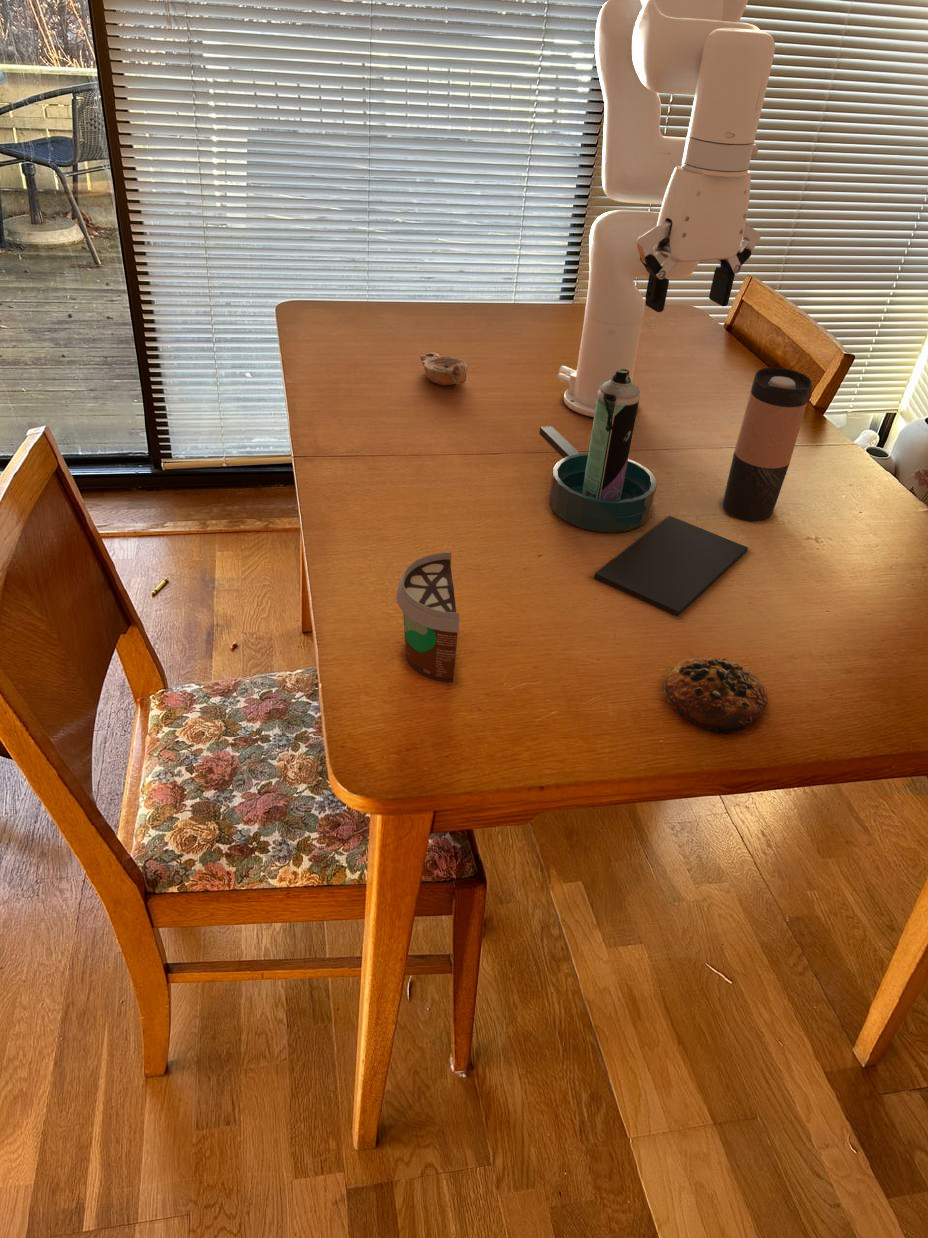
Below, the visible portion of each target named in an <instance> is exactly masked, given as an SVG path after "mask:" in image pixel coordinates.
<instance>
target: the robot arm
mask: <svg viewBox="0 0 928 1238" xmlns="http://www.w3.org/2000/svg"><path fill="white" fill-rule="evenodd" d="M748 2H749V0H606V2H605V3H603V5H602V7H601V9H600V11H599V14H598V16H597V21H596V25H595V26H596V28H595V36H594V37H595V39H594V49H595V50H594V54H595V61H596V62H595V63H596V69H597V75H598V78H599V83H600V87H601V92H602V98H603V102H604V117H603V135H602V136H603V139H602V156H601V157H602V158H601V182H602V183H601V184H602V189H603V193H604V194H605V196H606V197H607V198H608V199H610V200H612V201H615V202H619V203H620V202H621V203H628V204H629V203H630V204H643V205H644V204H647V205H661V207H660V211H651V210H635V209H634V210H633V209H616V210H615V209H614V210H610V211H607V212H603V213H602V214H600V215H599V216H598V217H597V218H596V219H595V220H594V221H593V223H592V225H591V228H590V232H589V242H588V252H589V253H588V254H589V255H588V260H589V262H588V263H589V265H588V273H589V274H588V282H587V283H588V286H587V294H586V302H585V308H584V309H585V310H584V317H583V324H582V331H581V337H580V345H579V352H578V359H577V364H576V365H577V367H576V370H575V369H573V368H570V367H568V366H565V365H560V367H559V369H558V374H557V377H556V380H557V382H560V383H563V384H566V385H567V386H568V389H566V390H565V392H564V395H563V402H564V404H565V405H566V406H567V407H568V408H569V409H570V410H572V411H573V412H575V413H578V414H580V415H583V416H586V417H591V418H594V415H595V409H596V402H597V396H598V391H599V389H600V385H601V384H602V383H603V382H606V381H609V380H611V378H612V377H613V376H614V375H615V374H616V371H618V370H621V369H626V370H628V371H629V378H630V379H631V380H632V381H633V378H634V377H633V376H634V371H635V367H636V366H635V365H636V359H637V353H638V349H639V342H640V338H641V334H642V333H641V331H642V327H643V322H644V316H645V306H646V307H648V308H650V309H651V310H653V311H654V312H656V313H663V311H665V306H666V299H667V296H668V290H669V284H670V280H669V279H681V278H682V279H683V278H687V277H690V275H692V274H693V273H694V272H695V271H696V269H697V267H698V265H699V263H700V262H709V261H718V263H719V266H716V267H715V270H714V272H713V277H712V281H711V287H710V291H709V296H708V299H709V300H710V301H712V302H713V303H715V304H717V305H719V306H721V307H727V306H729V302H730V298H731V294H732V289H733V286H734V285H733V284H734V280H735V275H737V274H739V273H740V272H741V271H742V266H743V265H744V264H745V263H746V262H747V261H748V260H749V259H750V257H751V256H752V251H754V249H755V247H756V246H757V244H758V243H759V241H760V239H761V236H762V235H761V233H760V232H758V230H756V229H755V228H753V227H752V226H750V225H749V224H748V223H747V218H748V212H749V206H750V205H749V204H750V197H751V196H750V195H751V183H752V182H751V181H752V172H751V170H749V168H750V164H751V159H752V158H756V157H757V155H758V153H759V147H758V145H757V144H755V140H756V135H757V132H758V129H759V128H758V127H759V122H760V118H761V115H762V110H763V106H764V100H765V97H766V92H767V88H768V84H769V79H770V75H771V70H772V66H773V61H774V56H775V51H776V43H775V39H774V37H773V36H772V35H771V34H770V33H768V32H765V31H762V30H761V29H760V28H759V27H758V26H757V25H755V24H752V23H747V22H741V21H740V20H741V18H742V17H743V15H744V12H745V10H746V8H747V5H748ZM739 21H740V22H739ZM659 94H666V95H685V96H686V95H687V96H694V99H693V104H692V108H691V115H690V120H689V125H688V130H687V135H686V137H682V136H681V137H680V136H665V135H663V134H662V132H661V112H662V103H661V97H660V95H659ZM637 278H648V281H647V286H646V290H645V296H644V297H645V301H644V298H643V295H642V293H641V291H640V290H639V289H638V288H639V287H637V285H636V283H634V280H635V279H637Z"/></svg>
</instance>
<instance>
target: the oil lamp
mask: <svg viewBox="0 0 928 1238" xmlns="http://www.w3.org/2000/svg"><path fill="white" fill-rule="evenodd" d="M419 359H420V361H421V363H422V366H423V370H424V372H425V375H426V377H427V378H428V379H429V380H430V381H431V382H432V383H434V384H437V385H440V386H451V385H455V384H456V385H459V384H464V383H466V382H467V371H468V365H467V364H466V363H465V362H464V361H463V360H461V359H459V358H455V357H452V356H451V355H447V356H441V355H439V352H426V353H423V354H422V355H420V356H419Z"/></svg>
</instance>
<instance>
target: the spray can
mask: <svg viewBox="0 0 928 1238" xmlns="http://www.w3.org/2000/svg"><path fill="white" fill-rule="evenodd" d="M640 394H641V389H640V388H639V387H638V386H637V385H636V384H634V383H633V379H632V380H631V379H630V378H629V371H628V370H626V369H621V370H618V371H616V374H615V375H614V376H613V377H612V378H611V380H609V381H606V382H603V383H602V384H601V385H600V389H599V391H598V396H597V402H596V409H595V415H594V417H593V423H592V427H591V434H590V441H589V447H588V452H587V453H588V459H587V465H586V472H585V478H584V484H583V491H582V494H583V495H586V496H589V497H594V498H598V499H605V500H621V494H622V489H623V484H624V478H625V473H626V468H627V462H628V459H629V456H630V452H631V446H632V440H633V435H634V430H635V424H636V418H637V413H638V409H639V403H640V396H641V395H640Z"/></svg>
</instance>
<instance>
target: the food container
mask: <svg viewBox="0 0 928 1238" xmlns="http://www.w3.org/2000/svg"><path fill="white" fill-rule="evenodd" d="M454 588H455V587H454V581H453V574H452V552H438V553H437V552H436V553H432V554H428V555H426V556H423V557H419V558H418V559H416V560H415V561H413V562H412V563H411V564H410V565H408V566H407V567H406V569H405V570H404V572H403V574H402V575H401V577H400V579H399V583H398V586H397V590H396V597H395V598H396V603H397V605H398V608H399V609H400V610H401V611H402V612H403V613H402V615H403V629H404V630H403V632H404V633H403V634H404V649H405V651H404V652H405V660H406V662H407V664H408V665H409V667H410V668H411V669H412V670H413V671H415V672H416V673H417V674H419V675H420V676H423V677H424V678H427V679H430V680H432V681H437V682H443V683H454V677H455V667H456V656H457V647H458V644H457V643H458V636H459V635H458V634H459V633H460V632H459V631H460V612H457V606H456V605H457V604H456V600H455V599H456V597H455V589H454Z"/></svg>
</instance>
